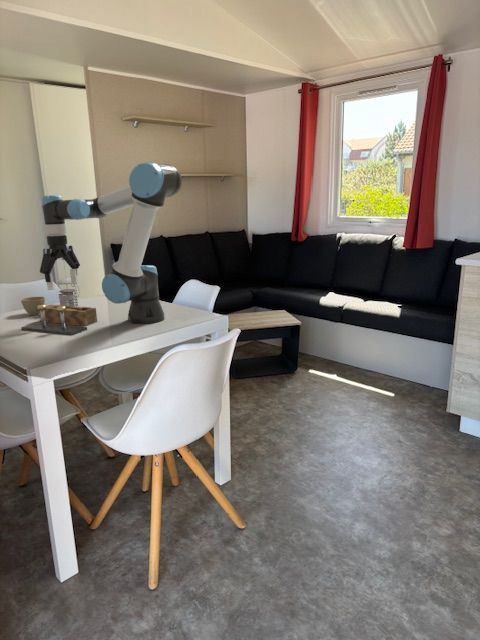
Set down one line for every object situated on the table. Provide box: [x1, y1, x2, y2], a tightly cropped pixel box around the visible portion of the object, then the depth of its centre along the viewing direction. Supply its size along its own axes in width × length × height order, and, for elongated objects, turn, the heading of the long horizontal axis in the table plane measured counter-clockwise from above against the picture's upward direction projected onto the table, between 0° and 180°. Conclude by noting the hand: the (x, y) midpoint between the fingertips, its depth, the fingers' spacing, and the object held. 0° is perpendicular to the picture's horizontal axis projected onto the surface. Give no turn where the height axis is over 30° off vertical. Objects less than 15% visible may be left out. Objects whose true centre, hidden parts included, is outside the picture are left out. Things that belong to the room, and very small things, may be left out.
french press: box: [56, 258, 80, 307], centre depth 214 cm, size 10×12×25 cm
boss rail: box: [20, 304, 88, 336], centre depth 183 cm, size 26×8×10 cm, turn 68°
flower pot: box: [20, 296, 46, 316], centre depth 212 cm, size 10×10×7 cm
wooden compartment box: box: [39, 304, 98, 327], centre depth 196 cm, size 24×7×6 cm, turn 68°
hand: (63, 287), depth 193 cm, fingers open, 13 cm apart
